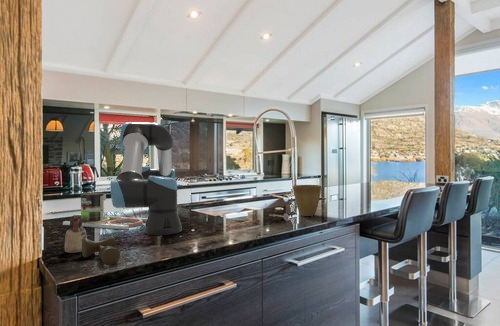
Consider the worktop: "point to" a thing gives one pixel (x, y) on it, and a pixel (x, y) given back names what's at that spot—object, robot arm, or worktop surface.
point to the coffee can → (92, 206)
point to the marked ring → (137, 221)
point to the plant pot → (307, 198)
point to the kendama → (102, 250)
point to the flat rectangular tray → (106, 218)
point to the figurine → (75, 235)
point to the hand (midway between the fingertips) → (106, 198)
